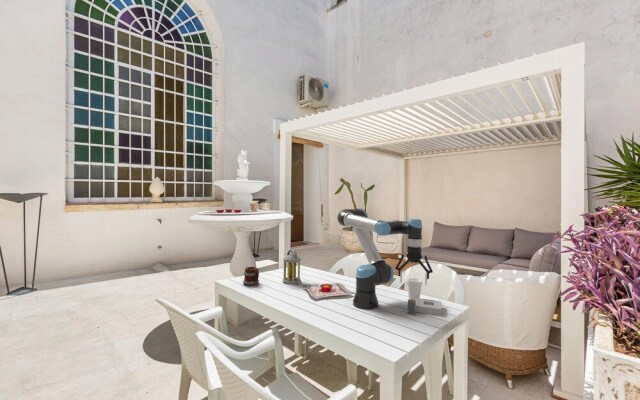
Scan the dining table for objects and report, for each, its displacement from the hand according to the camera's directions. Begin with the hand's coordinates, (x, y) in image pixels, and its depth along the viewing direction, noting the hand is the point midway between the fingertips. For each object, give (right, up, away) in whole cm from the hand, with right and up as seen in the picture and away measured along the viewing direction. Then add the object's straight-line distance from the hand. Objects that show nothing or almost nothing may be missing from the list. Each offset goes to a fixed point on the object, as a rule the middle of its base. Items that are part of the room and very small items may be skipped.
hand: (413, 283), depth 172 cm
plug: (-1, -17, -1) cm, 17 cm away
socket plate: (+11, -17, +6) cm, 21 cm away
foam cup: (+7, -17, +21) cm, 28 cm away
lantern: (-75, -16, +59) cm, 97 cm away
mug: (-103, -15, +52) cm, 117 cm away
